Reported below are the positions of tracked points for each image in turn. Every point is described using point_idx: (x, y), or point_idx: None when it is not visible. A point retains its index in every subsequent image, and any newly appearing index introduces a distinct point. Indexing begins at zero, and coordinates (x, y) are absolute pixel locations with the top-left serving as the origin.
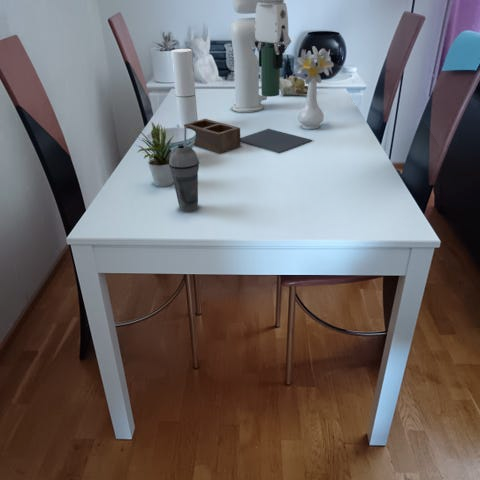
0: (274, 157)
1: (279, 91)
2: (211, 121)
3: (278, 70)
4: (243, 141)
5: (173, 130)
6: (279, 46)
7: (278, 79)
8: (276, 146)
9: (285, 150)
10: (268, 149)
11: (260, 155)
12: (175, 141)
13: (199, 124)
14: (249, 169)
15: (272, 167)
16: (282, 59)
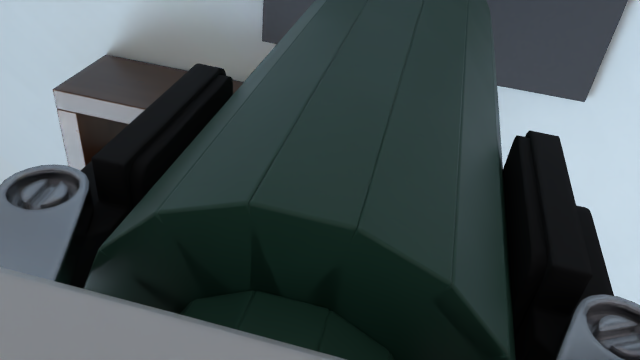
0: (584, 158)
1: (489, 11)
2: (121, 119)
3: (501, 152)
4: None
5: None
6: (484, 351)
7: (497, 97)
8: (527, 35)
9: (603, 55)
10: (502, 85)
11: (503, 162)
12: None
13: (90, 138)
14: None
15: (629, 257)
16: (600, 259)
